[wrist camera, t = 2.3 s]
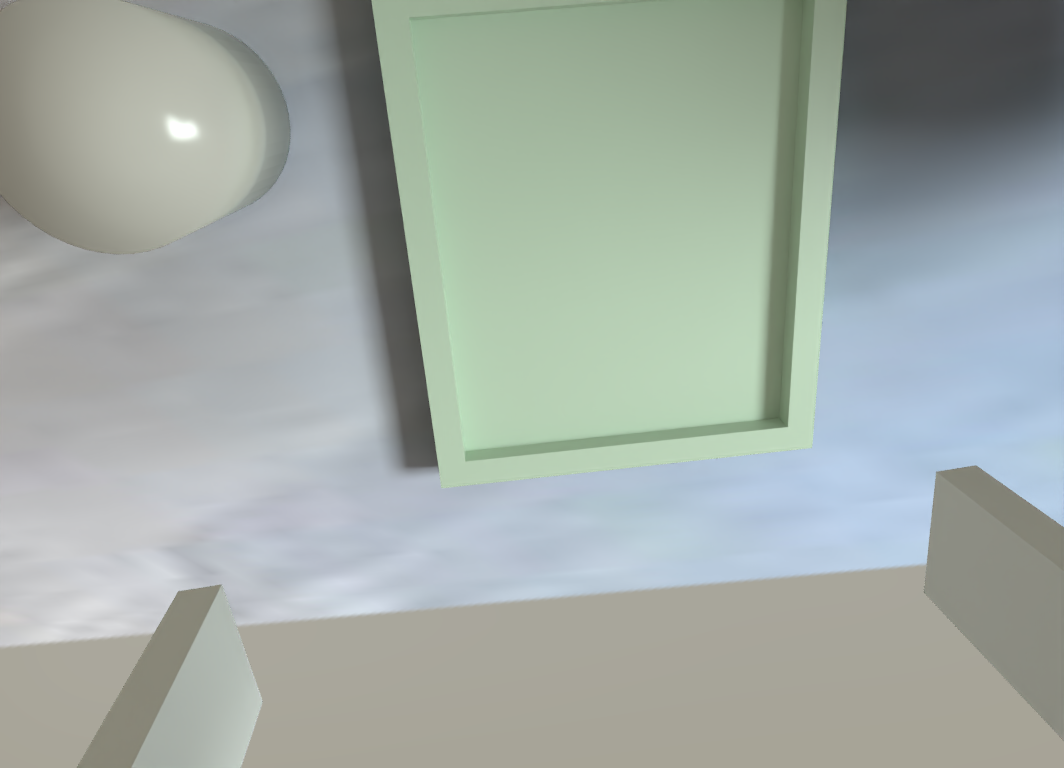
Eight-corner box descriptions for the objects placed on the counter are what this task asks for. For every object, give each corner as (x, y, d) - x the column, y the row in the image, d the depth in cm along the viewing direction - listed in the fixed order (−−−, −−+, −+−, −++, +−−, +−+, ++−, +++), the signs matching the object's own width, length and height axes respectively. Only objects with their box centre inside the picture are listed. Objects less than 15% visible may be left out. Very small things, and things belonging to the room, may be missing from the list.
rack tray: (375, -11, 26) (368, -19, 24) (825, -45, 27) (851, -56, 25) (443, 466, 34) (441, 488, 32) (793, 429, 35) (811, 447, 33)
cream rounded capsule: (75, 28, 26) (-81, 0, 19) (269, 13, 26) (191, -20, 19) (130, 221, 29) (13, 264, 21) (306, 206, 29) (250, 242, 22)
